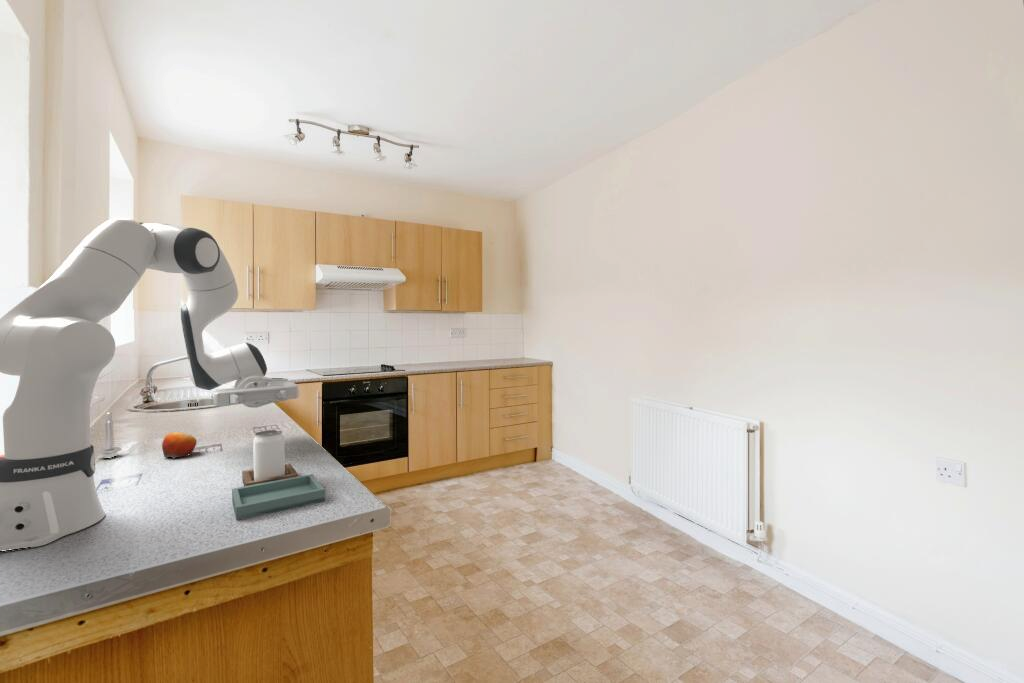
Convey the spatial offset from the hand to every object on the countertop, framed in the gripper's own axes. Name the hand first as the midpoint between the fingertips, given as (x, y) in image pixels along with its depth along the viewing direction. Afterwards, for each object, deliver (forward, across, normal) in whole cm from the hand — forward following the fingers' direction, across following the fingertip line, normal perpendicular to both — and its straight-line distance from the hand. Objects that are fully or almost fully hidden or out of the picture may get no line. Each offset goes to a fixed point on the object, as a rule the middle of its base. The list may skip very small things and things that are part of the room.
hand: (260, 398), depth 117 cm
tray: (+28, 0, +18) cm, 33 cm away
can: (+15, 0, +18) cm, 24 cm away
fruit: (-25, -18, +18) cm, 36 cm away
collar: (+15, 0, +18) cm, 23 cm away
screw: (-35, -34, +18) cm, 52 cm away
